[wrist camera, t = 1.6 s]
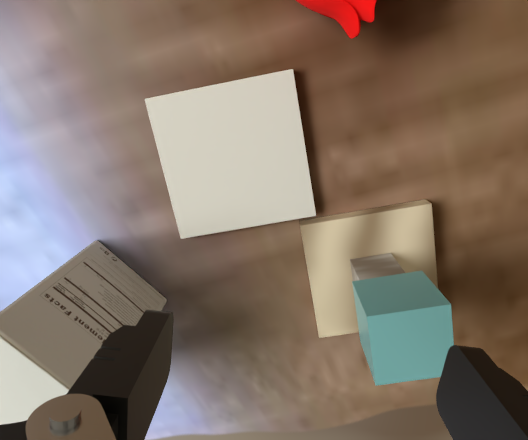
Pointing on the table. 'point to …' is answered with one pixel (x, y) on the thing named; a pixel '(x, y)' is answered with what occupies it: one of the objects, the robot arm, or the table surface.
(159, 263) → the table surface
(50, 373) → the supplement box
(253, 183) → the pad
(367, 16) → the flower
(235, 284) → the table surface
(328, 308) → the post stand
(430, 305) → the teal cube block
